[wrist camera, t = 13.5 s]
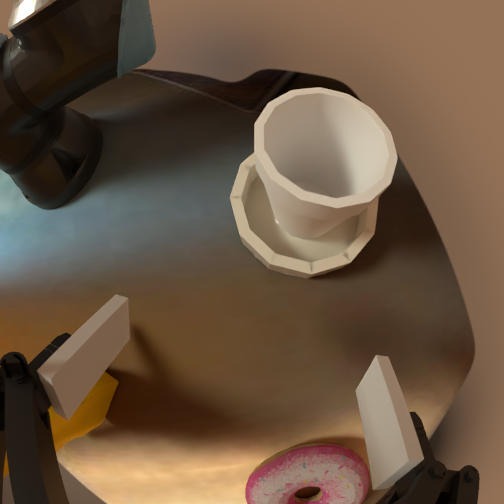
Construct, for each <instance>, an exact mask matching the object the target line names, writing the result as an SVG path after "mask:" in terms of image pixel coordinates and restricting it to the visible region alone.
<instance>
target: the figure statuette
mask: <svg viewBox="0 0 504 504" xmlns="http://www.w3.org/2000/svg"><path fill="white" fill-rule="evenodd" d="M118 383H119V382H118V381H117V380H116V379H114V378H113V377H112V376H110V375H109V374H108V373H106V372H104V373H103V374H102V376H101V377H100V378H99V380H98V381H97V382H96V384H95V385H94V386H93V388H92V389H91V390H90V392H89V393H88V394H87V396H86V397H85V398H84V400H83V401H82V402H81V404H80V405H79V407H78V408H77V409H76V411H75V412H74V413H73V415H72V416H71V418H70V419H69V420H66V419H65V418H63V417H61V416H60V415H58V414H57V413H55V411H54V409H53V407H52V405H51V406H50V408H49V409H48V411H49V414H50V422H51V429H52V435H53V441H54V446H55V452H57V451H58V450H59V449H60V448H61V447H63V446H64V445H65V444H66V443H67V442H69V441H70V440H72V439H74V438H77V437H81V436H83V435H85V434H86V433H88V432H89V431H91V430H92V429H94V428H96V427H98V426H99V425H100V424H101V423H102V422H103V420H104V419H105V416H106V414H107V412H108V409H109V406H110V403H111V400H112V398H113V395H114V393H115V390H116V388H117V386H118ZM8 474H9V469H8V461H7V451H6V456H5V464H4V474H3V477H5V476H6V475H8Z"/></svg>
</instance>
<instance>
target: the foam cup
mask: <svg viewBox="0 0 504 504" xmlns="http://www.w3.org/2000/svg"><path fill="white" fill-rule="evenodd" d="M254 154H255V166H256V171H257V172H258V174H259V176H260V178H261V180H262V181H263V183H264V186H265V189H266V192H267V195H268V198H269V201H270V204H271V207H272V210H273V213H274V215H275V218H276V220H277V221H278V223H279V225H280V227H281V229H283V230H284V231H285V232H287V233H288V234H289V235H291V236H292V237H296V238H300V239H305V240H307V239H311V238H316V237H319V236H321V235H323V234H324V233H326V232H328V231H329V230H331V229H332V228H334V227H335V226H337V225H338V224H340V223H341V222H343V221H344V220H346V219H347V218H349V217H351V216H356V215H359V214H360V213H361V212H362V211H363V210H365V209H366V208H367V207H368V206H369V205H370V204H371V203H373V202H374V201H375V200H376V199H377V198H378V197H379V196H380V195H381V194H382V193H383V192H384V190H385V189H386V188H387V187H388V186H389V185H390V184H391V181H392V177H393V174H394V170H395V166H396V162H397V159H398V158H397V153H396V149H395V146H394V142H393V138H392V134H391V132H390V130H389V129H388V128H387V126H386V125H385V124H384V123H383V121H382V120H381V119H380V117H379V116H378V115H377V114H376V113H375V111H374V110H373V109H371V108H370V107H368V106H366V105H365V104H364V103H362V102H360V101H359V100H357V99H355V98H354V97H352V96H351V95H349V94H346V93H342V92H338V91H334V90H330V89H325V88H321V87H317V88H306V89H297V90H291V91H289V92H287V93H285V94H283V95H281V96H280V97H278V98H276V99H274V100H272V101H271V102H269V103H268V104H267V105H266V107H265V108H264V110H263V111H262V113H261V115H260V116H259V118H258V119H257V121H256V122H255V124H254Z"/></svg>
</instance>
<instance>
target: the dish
mask: <svg viewBox="0 0 504 504" xmlns="http://www.w3.org/2000/svg"><path fill="white" fill-rule="evenodd" d="M230 200H231V204H232V208H233V212H234V215H235V219H236V223H237V227H238V230H239V234H240V237H241V240H242V243H243V244H244V245H245V246H246V247H247V248H248V249H249V250H250V251H251V253H252V254H253V255H254V256H255V257H256V258H257V259H258V260H259V261H261V262H262V263H263V264H264V265H266V266H267V267H268V268H269V269H270V270H274V271H277V272H279V273H282V274H286V275H289V276H295V277H302V278H311V277H314V276H318V275H323V274H325V273H328V272H331V271H334V270H337V269H340V268H342V267H344V266H346V265H347V264H349V263H351V261H352V260H353V259H354V258H355V257H356V256H357V254H358V253H359V252H360V251H361V250H362V248H363V247H364V246H365V245H366V244H367V242H368V241H369V240H370V239H371V238H372V236H373V235H374V233H375V226H376V218H377V209H378V200H379V199H378V198H377V199H376V200H375V201H374V202H373V203H371V204H370V205H369V206H368V207H367V208H366V209H365V210H363V211H362V212H361V213H360V214H359V215H356V216H351V217H349V218H347V219H346V220H344V221H343V222H341V223H340V224H338V225H337V226H335V227H334V228H332V229H331V230H329V231H328V232H326V233H324V234H323V235H321V236H319V237H316V238H311V239H307V240H305V239H300V238H296V237H292V236H291V235H289V234H288V233H287V232H285V231H284V230H283V229H281V227H280V225H279V223H278V221H277V220H276V218H275V215H274V213H273V210H272V207H271V204H270V201H269V198H268V195H267V192H266V189H265V186H264V183H263V181H262V180H261V178H260V176H259V174H258V172H257V171H256V166H255V154H254V153H253V154H252V155H250V156H249V157H248V158H247V159H246V160H245V161H243V162H242V163H241V165H240V168H239V171H238V174H237V177H236V180H235V183H234V186H233V189H232V192H231V195H230Z"/></svg>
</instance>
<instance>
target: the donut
mask: <svg viewBox="0 0 504 504" xmlns="http://www.w3.org/2000/svg"><path fill="white" fill-rule="evenodd" d="M308 486H310V487H319V488H320V489H321V491H320V492H319V493H318V494H317V495H315V496H313V497H310V498H298V497H296V496H295V493H296V492H297V491H298V490H300V489H303V488H305V487H308ZM368 487H369V472H368V469H367V466H366V465H365V463H364V462H363V460H362V459H361V458H360V457H359V456H358V455H357V454H356V453H355V452H353V451H352V450H350V449H348V448H346V447H344V446H341V445H336V444H331V443H311V444H303V445H299V446H295V447H291V448H289V449H286V450H284V451H281V452H278V453H277V454H275V455H273V456H271V457H270V458H268V459H266V460H265V461H264V462H263V463H261V464H260V465H259V466H258V467H256V468H255V470H254V471H253V472H252V474H251V475H250V476H249V479H248V482H247V484H246V501H247V504H362V502H363V501H364V499H365V497H366V494H367V491H368Z"/></svg>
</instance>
